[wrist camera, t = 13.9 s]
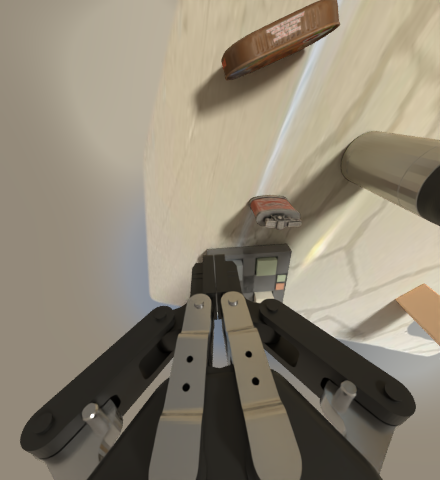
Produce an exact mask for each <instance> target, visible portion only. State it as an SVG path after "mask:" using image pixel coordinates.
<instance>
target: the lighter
mask: <svg viewBox="0 0 440 480" xmlns="http://www.w3.org/2000/svg"><path fill="white" fill-rule="evenodd" d="M249 206H250V208H251V209H252V210H253V213H254V215H255V217H256V221H257V224H259V225H261V226H266V227H267V228H276V229H283V228H284V227H300V226H301V224H302V222H301V220H300V219H301V215H300V213H299V212H298V211H297V210H295V209H294V208H293V207H292V206H291V205H290V203H289V202H288V200H287V199H286V197H283V196H278V195H263V196H257V197H253V198H251V199H250V201H249Z"/></svg>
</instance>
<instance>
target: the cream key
mask: <svg viewBox="0 0 440 480" xmlns="http://www.w3.org/2000/svg"><path fill="white" fill-rule="evenodd" d="M265 299H274V297H273V294H272V291H266V292H254V302H257V303H261V302H262V301H263V300H265Z"/></svg>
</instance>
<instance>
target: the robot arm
mask: <svg viewBox="0 0 440 480" xmlns="http://www.w3.org/2000/svg"><path fill="white" fill-rule="evenodd" d="M341 170H342V173H343V175H344V177H345V178H346V179H348V180H349V181H351V182H353V183H355V184H357V185H359V186H361V187H363V188H365V189H367V190H369V191H371V192H373V193H375V194H377V195H378V196H380V197H382V198H384V199H386V200H388V201H390V202H392V203H394V204H396V205H398V206H400V207H402V208H404V209H406V210H408V211H410V212H412V213H414V214H416V215H418V216H420V217H422V218H424V219H426V220H428V221H430V222H432V223H434V224H436V225H439V226H440V140H436V139H429V138H422V137H415V136H407V135H400V134H394V133H387V132H380V131H371V132H367V133H365V134H363V135H361V136H359V137H358V138H356V139H355V140H354V141H353V142H352V143H351V144H350V145H349V147H348V148H347V149H346V151H345V153H344V155H343V158H342V163H341ZM214 259H215V273H214ZM215 275H216V289H215ZM216 290H217V305H218V318H219V319H222V331H223V337H224V343H225V349H226V356H227V362H228V366H225V367H223V368H215V367H213V339H214V320H217V305H216ZM264 349H265V350H266V351H267V352H268V353H270V354H271V355H272V356H273V357H274V358H275V359H276V360H277V361H278V362H280V363H281V364H282V365H283V366H284V367H285V368H286V369H287V370H289V371H290V372H291V373H292V374H293V375H294V376H295V377H296V378H298V379H299V380H300V381H301V382H302V383H303V384H304V385H306V386H307V387H308V388H309V389H310V390H311V391H312V392H313V393H314V394H316V395H317V396H318V397H319V398H320V406H321V409H322V411H323V413H324V415H325V416H326V418H327V419H328V420H329V421H330V422H331V423H332V424H331V423H330V422H329V421H328V420H327V419H326V418H324V416H323V415H321V413H320V412H319V411H318V410H317V409H315V407H313V406H312V405H311V404H310V403H309V402H308V401H307V400H306V399H305V398H304V397H303V396H302V395H301V394H300V393H299V392H298V391H297V390H296V389H295V388H294V387H293V386H292V385H291V384H290V383H289V382H288V381H287V380H286V379H285V378H284V377H283V376H282V375H280V374H279V373H278V372H276V371H274V370H272V369H270V367H269V364H268V360H267V357H266V354H265V351H264ZM173 357H174V359H173V363H172V368H171V373H170V377H169V378H168V379H166V380H165V381H164V382H163V383H162V384H161V385H160V386H159V387H158V388H157V389H156V390H155V392H154V393H153V394H152V395H151V397H150V398H149V399H148V401H147V402H146V403H145V404H144V406H143V407H142V409H141V410H140V411H139V412H138V414H137V415H136V416H135V418H134V419H133V420H132V421H131V423H130V424H129V425H128V427H127V428H126V429H125V431H124V432H123V433H122V434H121V436H120V437H119V438H118V436H119V435H120V432H121V429H122V426H123V415H124V414H125V413H126V412H127V410H129V408H130V407H131V406H132V405H133V404H134V403H135V401H136V400H137V399H138V398H139V397H140V395H141V394H142V393H143V392H144V391H145V390H146V388H147V387H148V386H149V385H150V384H151V383H152V381H153V380H154V379H155V378H156V377H157V376H158V374H159V373H160V372H161V371H162V370H163V369H164V367H165V366H166V365H167V364H168V363H169V362H170V360H171V359H172V358H173ZM415 409H416V405H415V402H414V398H413V396H412V395H411V393H410V392H409V391H408V389H407V388H406V387H405V386H404V385H403V384H402V383H400V382H399V381H398V380H396V379H395V378H393V377H392V376H390V375H389V374H387V373H386V372H384V371H383V370H381V369H380V368H378V367H377V366H375V365H374V364H372V363H371V362H369V361H368V360H366V359H365V358H363V357H362V356H361V355H359V354H358V353H356V352H355V351H353V350H352V349H350V348H349V347H347V346H345V345H344V344H343V343H341V342H340V341H338V340H337V339H335V338H334V337H332V336H331V335H329V334H328V333H326V332H325V331H323V330H322V329H320V328H319V327H317V326H316V325H314V324H313V323H311V322H310V321H308V320H307V319H305V318H304V317H302V316H301V315H299V314H298V313H296V312H295V311H293V310H292V309H290V308H289V307H287V306H286V305H284V304H283V303H281V302H280V301H278V300H276V299H265V300H263V301H262V302H261V303H257V302H252V301H250V300H248V299H246V298H245V297H244V296H243V294H242V290H241V285H240V280H239V275H238V270H237V265H236V264H235V263H234V262H233V261H225V254H216V255H214V258H213V255H203V263H196V264H195V265H194V267H193V268H192V281H191V294H190V298H189V300H188V301H187V303H186V304H185V305H184V306H182V307H180V308H177V309H175V310H172V309H171V308H170V307H168V306H160V307H157V308H155V309H154V310H152V311H151V312H150V313H149V314H148V315H147V316H145V317H144V318H143V319H142V320H141V321H140V322H139V323H137V324H136V325H135V326H134V327H133V328H132V329H131V330H130V331H128V332H127V333H126V334H125V335H124V336H123V337H121V338H120V339H119V340H118V341H117V342H116V343H115V344H113V346H111V347H110V348H109V349H108V350H107V351H106V352H104V353H103V354H102V355H101V356H100V357H99V358H97V359H96V360H95V361H94V362H93V363H92V364H91V365H90V366H88V367H87V368H86V369H85V370H84V371H83V372H82V373H80V374H79V375H78V376H77V377H76V378H75V379H74V380H72V381H71V382H70V383H69V384H68V385H67V386H66V387H64V388H63V389H62V390H61V391H60V392H59V393H58V394H57V395H55V396H54V397H53V398H52V399H51V400H50V401H48V402H47V403H46V404H45V405H44V406H43V407H42V408H41V409H39V410H38V411H37V412H36V413H35V414H34V415H33V416H32V417H31V418H30V420H29V421H28V422H27V424H26V425H25V427H24V429H23V431H22V434H21V439H20V443H21V446H22V448H23V449H24V450H25V451H27V452H29V453H31V454H33V456H34V457H35V458H36V459H38V460H39V461H41V462H43V463H45V464H46V465H47V467H48V469H49V471H50V472H51V474H52V476H53V478H54V480H382V478H381V477H380V475H379V474H380V471H381V468H382V465H383V462H384V459H385V456H386V453H387V450H388V447H389V444H390V441H391V438H392V435H393V432H394V430H396V429H397V428H398V427H399V426H400V425H401V424H402V423H403V422H405V421H406V420H407V419H408V418H409V417H410V416H411V415H413V414H414V412H415ZM117 438H118V440H117V441H116V439H117ZM115 441H116V442H115ZM114 442H115V443H114ZM113 444H114V445H113Z"/></svg>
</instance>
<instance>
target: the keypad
mask: <svg viewBox="0 0 440 480" xmlns="http://www.w3.org/2000/svg"><path fill="white" fill-rule="evenodd" d="M291 252H292V251H291V249H290V248H289V246H288V244H278V245H263V246H248V247H232V248H217V249H207V255H213V258H214V255H216V254H225V260H232V259H241V260H242V264H243V277H242V281H240V285H241V290H242V294H243V296H244V297H245V298H246V299H248V300H250V301H252V302H254V292H266V291H272V294H273V297H274V299H276V300H278V301H280V302H281V303H283V297H284V291H285V286H286V280H287V275H288V269H289V263H290V258H291ZM262 257H276V258H277V267H276V274H275V275H267V276H257V275H256V272H255V260H256V258H262ZM214 273H215V259H214ZM215 289H216V275H215ZM216 305H217V290H216ZM217 312H218V305H217Z"/></svg>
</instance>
